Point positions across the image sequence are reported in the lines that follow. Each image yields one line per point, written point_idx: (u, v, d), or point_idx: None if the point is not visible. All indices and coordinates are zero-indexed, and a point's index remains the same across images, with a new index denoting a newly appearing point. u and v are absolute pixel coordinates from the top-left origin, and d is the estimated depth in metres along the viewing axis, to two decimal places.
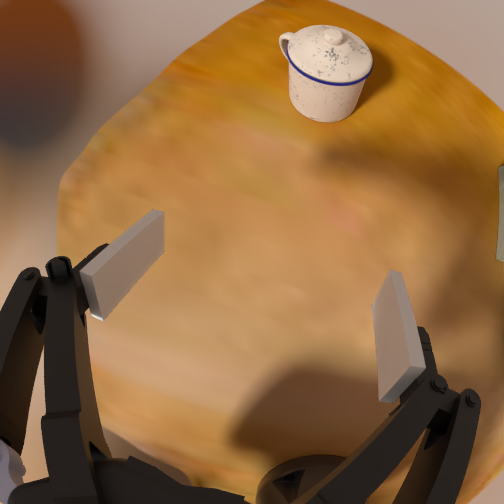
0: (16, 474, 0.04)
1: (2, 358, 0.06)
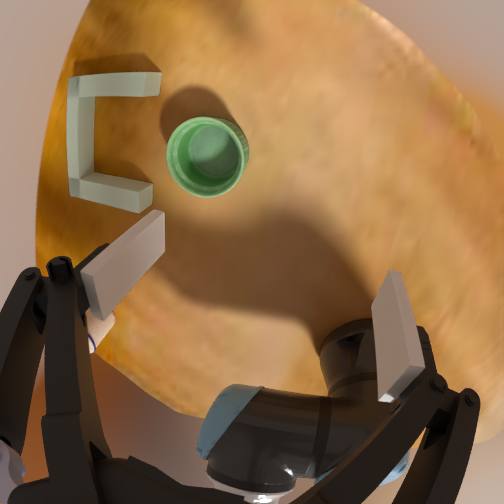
0: (16, 474, 0.04)
1: (2, 358, 0.06)
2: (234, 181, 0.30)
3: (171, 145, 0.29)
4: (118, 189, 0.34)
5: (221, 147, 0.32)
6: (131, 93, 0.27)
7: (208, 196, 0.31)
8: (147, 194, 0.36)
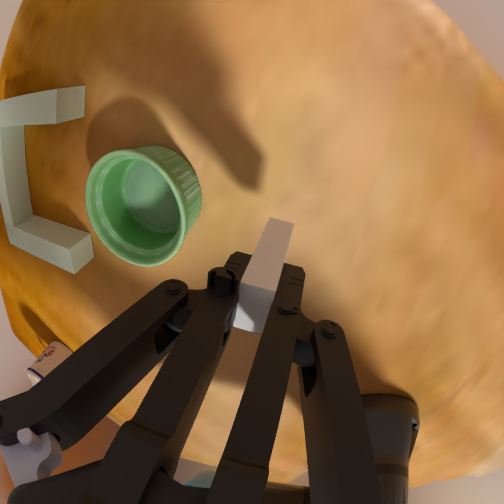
0: (46, 468, 0.05)
1: (96, 369, 0.07)
2: (175, 246, 0.20)
3: (91, 192, 0.19)
4: (49, 243, 0.24)
5: (162, 188, 0.22)
6: (44, 120, 0.17)
7: (144, 265, 0.21)
8: (84, 248, 0.26)
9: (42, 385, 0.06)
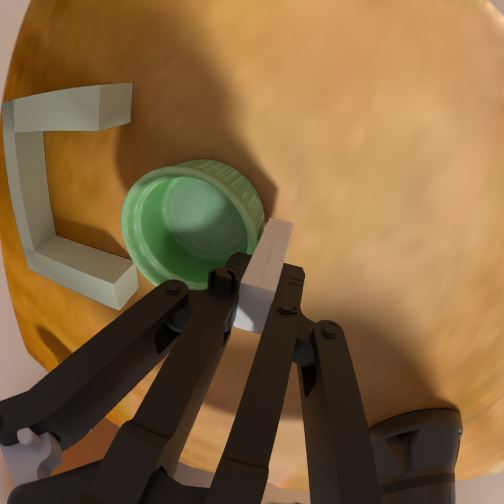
0: (46, 468, 0.05)
1: (96, 369, 0.07)
2: None
3: (128, 215, 0.17)
4: (85, 275, 0.22)
5: (216, 211, 0.19)
6: (80, 126, 0.15)
7: None
8: (129, 280, 0.24)
9: (42, 385, 0.06)
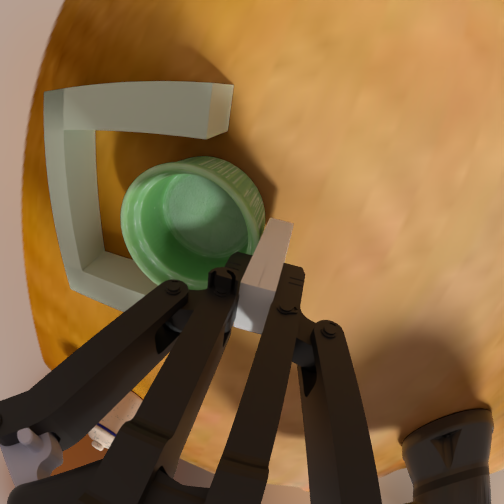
0: (46, 468, 0.05)
1: (96, 369, 0.07)
2: None
3: (128, 211, 0.17)
4: None
5: (217, 208, 0.19)
6: (176, 129, 0.14)
7: None
8: None
9: (42, 385, 0.06)
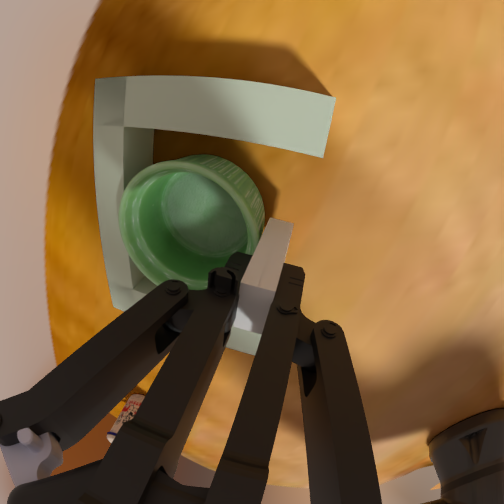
0: (46, 468, 0.05)
1: (96, 369, 0.07)
2: None
3: (127, 208, 0.16)
4: None
5: (216, 208, 0.19)
6: (287, 142, 0.13)
7: None
8: None
9: (42, 385, 0.06)
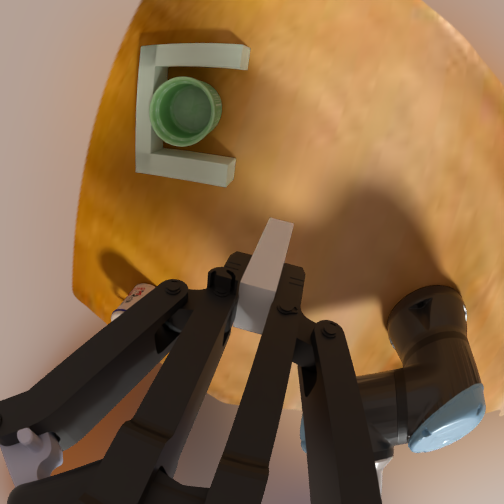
0: (46, 468, 0.05)
1: (95, 369, 0.07)
2: (206, 131, 0.32)
3: (154, 102, 0.31)
4: (202, 162, 0.35)
5: (198, 105, 0.33)
6: (225, 64, 0.27)
7: (183, 145, 0.33)
8: (232, 168, 0.36)
9: (42, 385, 0.06)
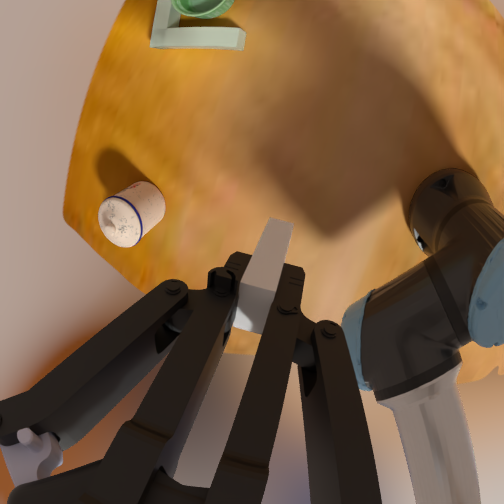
0: (46, 468, 0.05)
1: (96, 369, 0.07)
2: (221, 1, 0.27)
3: None
4: (215, 28, 0.30)
5: None
6: None
7: (199, 14, 0.28)
8: (242, 37, 0.31)
9: (42, 385, 0.06)
